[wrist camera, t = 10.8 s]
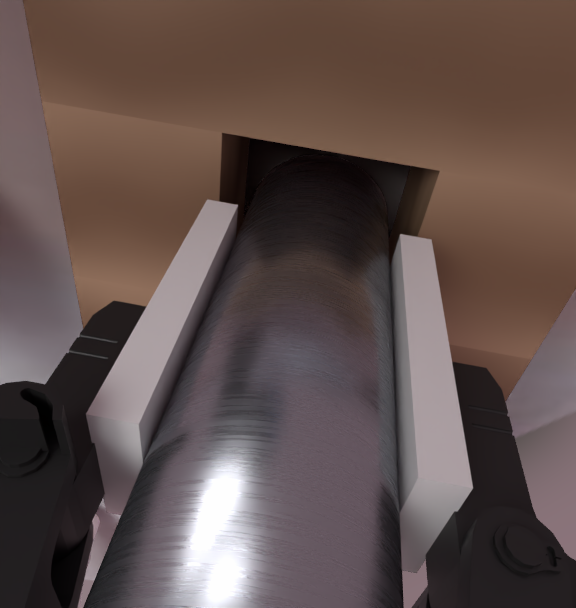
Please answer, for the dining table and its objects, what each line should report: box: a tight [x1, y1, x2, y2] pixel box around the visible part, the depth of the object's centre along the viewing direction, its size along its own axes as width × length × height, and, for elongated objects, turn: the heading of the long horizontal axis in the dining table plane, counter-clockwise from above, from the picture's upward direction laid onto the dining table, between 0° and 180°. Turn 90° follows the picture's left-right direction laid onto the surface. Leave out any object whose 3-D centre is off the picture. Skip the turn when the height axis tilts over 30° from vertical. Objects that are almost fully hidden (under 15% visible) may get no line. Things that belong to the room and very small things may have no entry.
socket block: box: [23, 0, 576, 401], centre depth 15 cm, size 14×14×4 cm
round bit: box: [83, 154, 403, 608], centre depth 10 cm, size 4×4×12 cm
